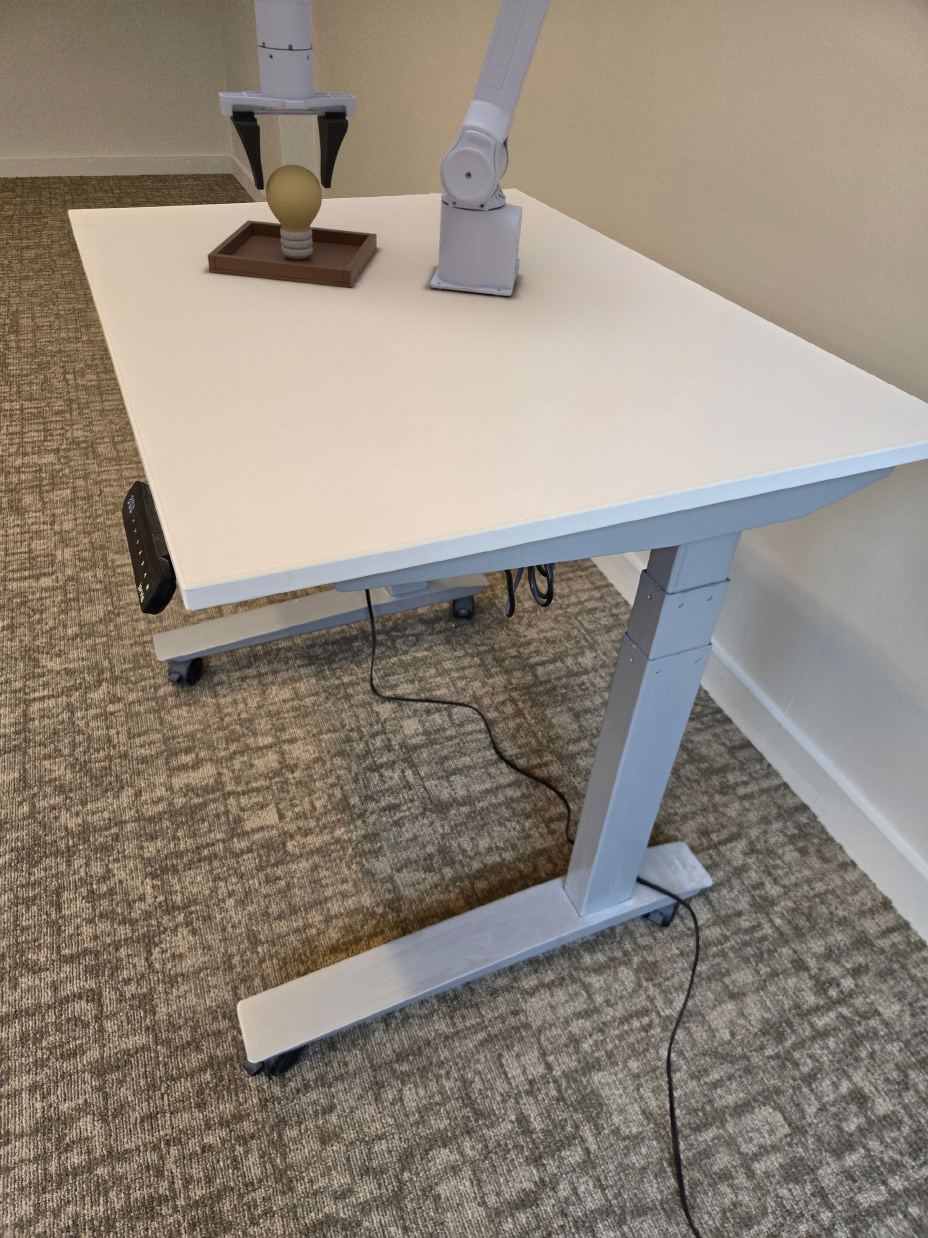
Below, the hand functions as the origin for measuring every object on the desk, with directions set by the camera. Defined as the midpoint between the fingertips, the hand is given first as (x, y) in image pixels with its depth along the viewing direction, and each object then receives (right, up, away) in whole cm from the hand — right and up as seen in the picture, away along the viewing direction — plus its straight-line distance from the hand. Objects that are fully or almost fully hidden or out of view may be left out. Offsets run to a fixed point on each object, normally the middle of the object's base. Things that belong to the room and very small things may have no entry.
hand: (293, 186), depth 100 cm
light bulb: (0, -6, +5) cm, 8 cm away
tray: (0, -6, +5) cm, 8 cm away
